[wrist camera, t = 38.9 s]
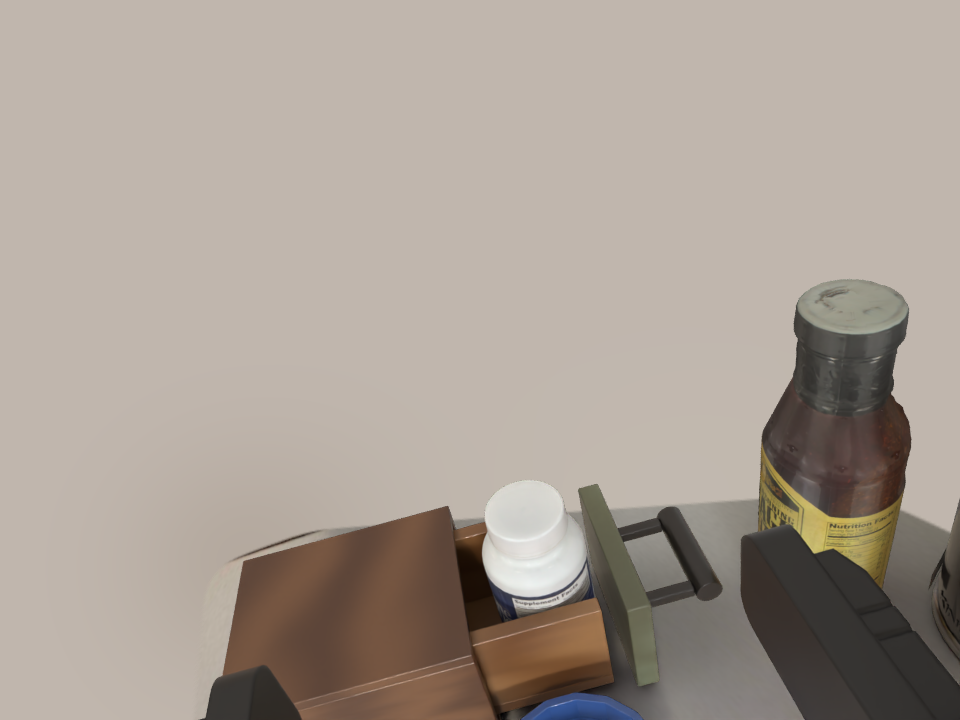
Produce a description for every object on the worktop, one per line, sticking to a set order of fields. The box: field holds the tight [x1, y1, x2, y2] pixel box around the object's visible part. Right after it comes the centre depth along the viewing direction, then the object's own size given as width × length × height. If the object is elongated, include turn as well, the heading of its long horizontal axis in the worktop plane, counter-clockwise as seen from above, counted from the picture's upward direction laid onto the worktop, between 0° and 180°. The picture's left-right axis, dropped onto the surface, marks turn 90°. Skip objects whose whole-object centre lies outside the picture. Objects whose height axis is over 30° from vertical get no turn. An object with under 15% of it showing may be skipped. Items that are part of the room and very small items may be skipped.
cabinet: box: [223, 506, 501, 720], centre depth 37 cm, size 12×10×8 cm
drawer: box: [453, 484, 723, 714], centre depth 37 cm, size 16×8×7 cm, turn 99°
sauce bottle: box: [758, 280, 911, 589], centre depth 33 cm, size 7×6×20 cm
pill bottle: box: [482, 480, 595, 623], centre depth 36 cm, size 5×5×10 cm
